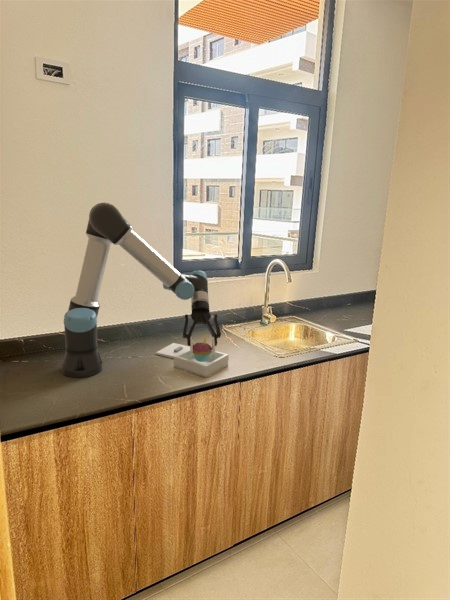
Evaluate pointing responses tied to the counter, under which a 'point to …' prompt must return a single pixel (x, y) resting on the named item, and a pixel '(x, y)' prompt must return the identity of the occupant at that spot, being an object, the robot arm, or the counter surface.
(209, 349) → the cupcake
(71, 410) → the counter surface
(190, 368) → the bin
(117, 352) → the counter surface
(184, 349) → the bin lid
